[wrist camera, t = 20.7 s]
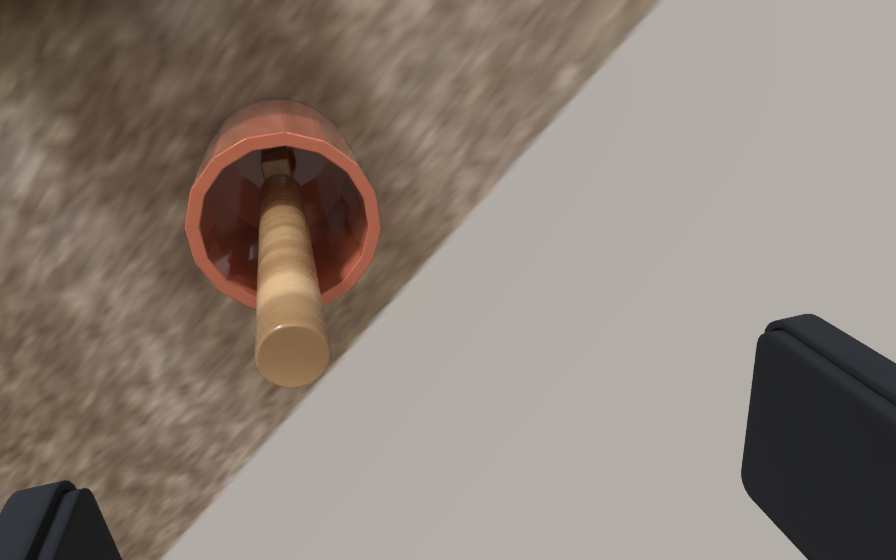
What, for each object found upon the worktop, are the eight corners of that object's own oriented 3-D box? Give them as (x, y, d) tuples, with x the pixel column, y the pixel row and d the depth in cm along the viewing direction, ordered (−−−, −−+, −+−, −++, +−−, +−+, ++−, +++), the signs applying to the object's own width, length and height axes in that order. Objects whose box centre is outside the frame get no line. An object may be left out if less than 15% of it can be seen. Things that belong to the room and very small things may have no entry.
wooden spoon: (254, 149, 31) (241, 310, 15) (292, 143, 31) (319, 294, 15) (267, 209, 32) (269, 416, 16) (304, 202, 32) (341, 400, 16)
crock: (339, 89, 31) (364, 119, 23) (362, 224, 34) (391, 293, 26) (189, 110, 30) (161, 150, 22) (226, 249, 33) (214, 329, 25)
